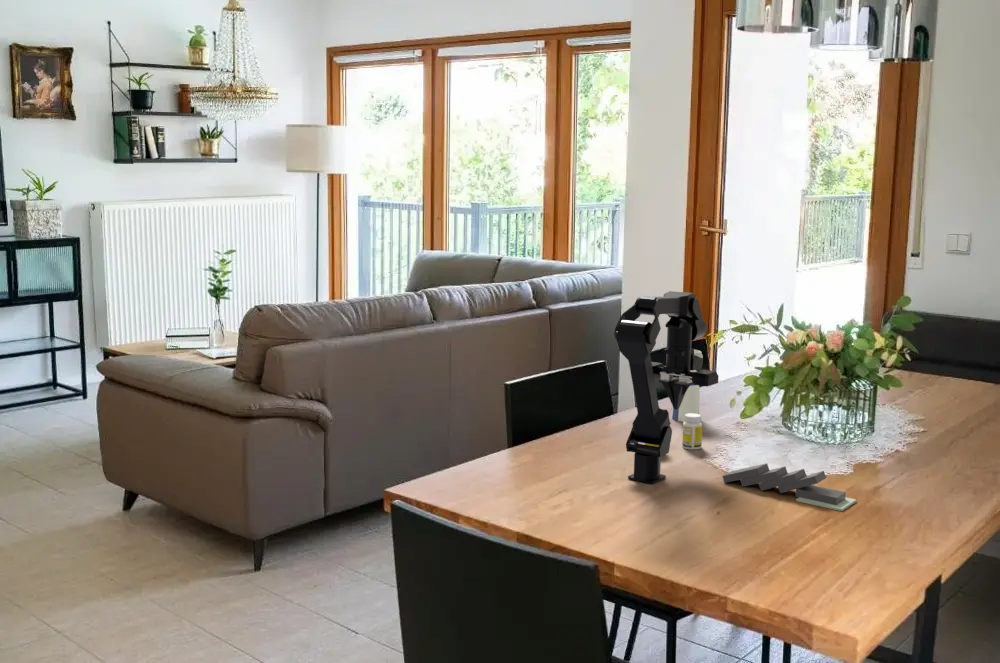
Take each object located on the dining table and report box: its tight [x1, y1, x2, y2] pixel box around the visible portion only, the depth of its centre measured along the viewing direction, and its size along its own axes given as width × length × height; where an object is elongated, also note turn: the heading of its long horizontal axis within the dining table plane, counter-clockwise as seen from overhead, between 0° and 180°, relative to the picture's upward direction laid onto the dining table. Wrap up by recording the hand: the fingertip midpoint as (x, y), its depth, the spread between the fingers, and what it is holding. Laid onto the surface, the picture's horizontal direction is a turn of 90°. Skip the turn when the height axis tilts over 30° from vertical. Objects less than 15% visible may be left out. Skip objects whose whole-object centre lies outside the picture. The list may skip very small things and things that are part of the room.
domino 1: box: [721, 463, 770, 484], centre depth 234 cm, size 2×5×9 cm
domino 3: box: [758, 468, 807, 492], centre depth 228 cm, size 2×5×9 cm
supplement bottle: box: [682, 413, 703, 451], centre depth 262 cm, size 5×5×8 cm
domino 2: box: [740, 466, 789, 488], centre depth 231 cm, size 2×5×9 cm
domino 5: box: [795, 484, 847, 505], centre depth 223 cm, size 2×5×9 cm
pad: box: [796, 496, 857, 512], centre depth 223 cm, size 8×10×1 cm
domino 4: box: [777, 470, 827, 494], centre depth 226 cm, size 2×5×9 cm
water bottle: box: [671, 348, 704, 423], centre depth 290 cm, size 8×8×25 cm
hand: (676, 409), depth 248 cm, fingers closed
